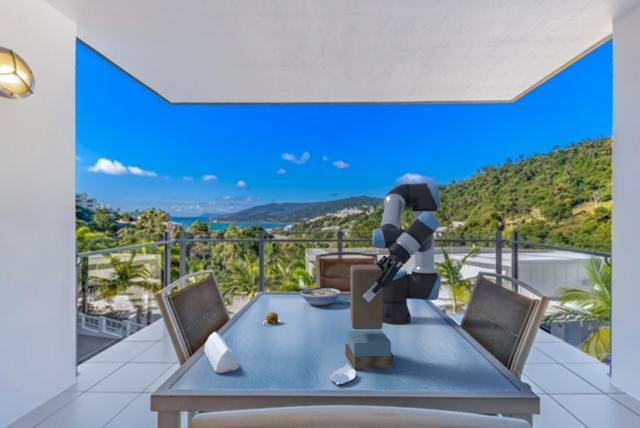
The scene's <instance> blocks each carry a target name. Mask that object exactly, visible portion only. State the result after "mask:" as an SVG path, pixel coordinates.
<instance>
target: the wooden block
mask: <svg viewBox="0 0 640 428" xmlns="http://www.w3.org/2000/svg"><path fill="white" fill-rule="evenodd" d="M349 269H350V271H349V272H350V273H349V275H350V276H349V277H350V283H349V284H350V286H349V287H350V291H349V292H350V323H351V328H352V329H354V330H382V329H383V323H384V322H383V297H382V289H381V290H380V291H379V292H378V293H377V294H376V295H375V296H374V297H373V299H372V300H371V301H370V302H368V301H367V300H366V299H365V298H364V297H363V295H364V294H365V293H366V292H367V291H368V290H369V289H370V288H371V286H372V285H373V284H374V283H375V282H377V281H376V280H377V279H380V278H381V276H382V273H383V272H382V270H381V268H380V267H379V266H378V265H374V264H351V265H350V267H349ZM377 283H378V282H377Z"/></svg>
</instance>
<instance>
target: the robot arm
mask: <svg viewBox="0 0 640 428" xmlns="http://www.w3.org/2000/svg"><path fill="white" fill-rule="evenodd" d="M383 207H384V210H383V214H382V218H381V222H380V227H379V228H375V229H373V230H372V237H371V238H372V246H373V248H375V249H383V250H385V249H387V250H388V253H389V255H388V256H386V255H383V256H382V257H381V258H380V259H379V260H378V261H376V263H375V264H373V265H378V266H379V267H380V268H381V270H382V276H381V278H380V279H377V280H376V281H377V282H378V283H377V282H375V283H374V284H373V285H372V286H371V288H370V289H369V290H368V291H367V292H366V293H365V294H364V295H363V297H364V298H365V299H366V300H367V301H368V302H370V301H371V300H372V299H373V297H374V296H375V295H376V294H377V293H378V292H379V291H380V290H381V289H382V297H383V323H386V324H391V325H404V324H409V323H411V321H412V317H411V312H410V309H409V307H408V300H409V299H410V300H422V301H437V299H438V298H439V296H440V295H439V294H440V289H441V278H442V276H441V275H440V274H439V273H438V270H437V268H435V232H437V230H438V229H439V227H440V226H441V223H440V221H439V219H438V218H437V217H436V216H435V215H436V214H437V213H438V209H441V198H440V192H439V186H438V185H437V184H436V183H432V182H431V183H429V182H426V183H424V182H422V183H420V182H419V183H403V184H399V185H397V186H394V187H393V188H391V190H390V191H389V192H387V194H386V195H385V197H384V200H383ZM404 209H410V210H411V213H412V214H413V216H414V221H413V222H412V223H411V224H410V225H409V226H408V228H400V227H401V219H402V214H403V213H402V212H403V210H404ZM412 256H414V267H413V268H412V269H411V273H408V271H407V270H406V269H401V268H402V267H404V265H405V264H406V263H407V262H409V260H410V259H411V257H412Z"/></svg>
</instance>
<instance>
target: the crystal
mask: <svg viewBox="0 0 640 428" xmlns="http://www.w3.org/2000/svg"><path fill="white" fill-rule="evenodd" d="M203 351H204V353H205V355H206V357H207V359H208V361H209V363H210V364H211V366H212V368H213V370H214V372H215V373H218V374H224V373H229V372H233V371H236V370H237V369H239V368H240V363H239V359H237V357H236V356H235V354H234V352H233V351H232V350H231V348H230V346H228V344H227V343H226V342H225V340H224V339H223V337H222V336H221V335H220V333H217V332H216V331H213V332H212V333H211V334H210V335H209V336H208V338H207V340H206V342H205V343H204V350H203Z"/></svg>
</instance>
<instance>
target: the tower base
mask: <svg viewBox="0 0 640 428" xmlns="http://www.w3.org/2000/svg"><path fill="white" fill-rule="evenodd" d="M345 356H346V358H347V360H348V361H349V363H350V365H351V366H352V369H354V370H355V371H356V372H359V371H358V370H361V371H373V369H374V370H386V369H387V370H388V369H394V368H395V355H394V354H393V352H391V356H372V357H354V355H353V353H352V351H351V349H350V347H349V345H348V343H345Z"/></svg>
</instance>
